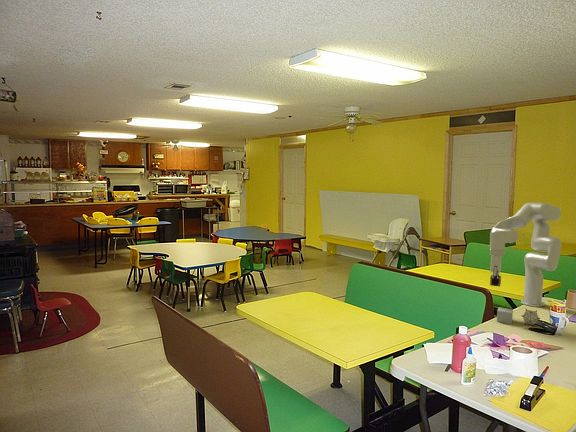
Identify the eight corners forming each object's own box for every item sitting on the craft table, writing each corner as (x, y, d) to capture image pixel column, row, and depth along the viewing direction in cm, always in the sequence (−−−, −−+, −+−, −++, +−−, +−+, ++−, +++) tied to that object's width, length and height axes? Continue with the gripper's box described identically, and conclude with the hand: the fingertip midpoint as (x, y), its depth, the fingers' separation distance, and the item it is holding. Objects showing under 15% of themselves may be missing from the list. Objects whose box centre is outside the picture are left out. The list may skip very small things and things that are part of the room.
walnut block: (490, 283, 239) (491, 274, 239) (500, 284, 237) (501, 275, 236) (490, 285, 235) (490, 276, 234) (500, 286, 232) (500, 277, 232)
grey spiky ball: (532, 331, 221) (545, 316, 220) (532, 330, 214) (545, 315, 213) (516, 319, 226) (529, 305, 225) (516, 318, 219) (528, 303, 218)
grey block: (497, 318, 231) (498, 307, 230) (512, 320, 227) (512, 309, 226) (496, 321, 225) (497, 310, 224) (511, 324, 221) (512, 313, 220)
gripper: (490, 249, 243) (489, 280, 245) (488, 254, 228) (486, 286, 230) (505, 250, 239) (503, 281, 241) (503, 255, 225) (501, 288, 226)
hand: (495, 284), depth 236 cm, fingers closed on walnut block, 4 cm apart
